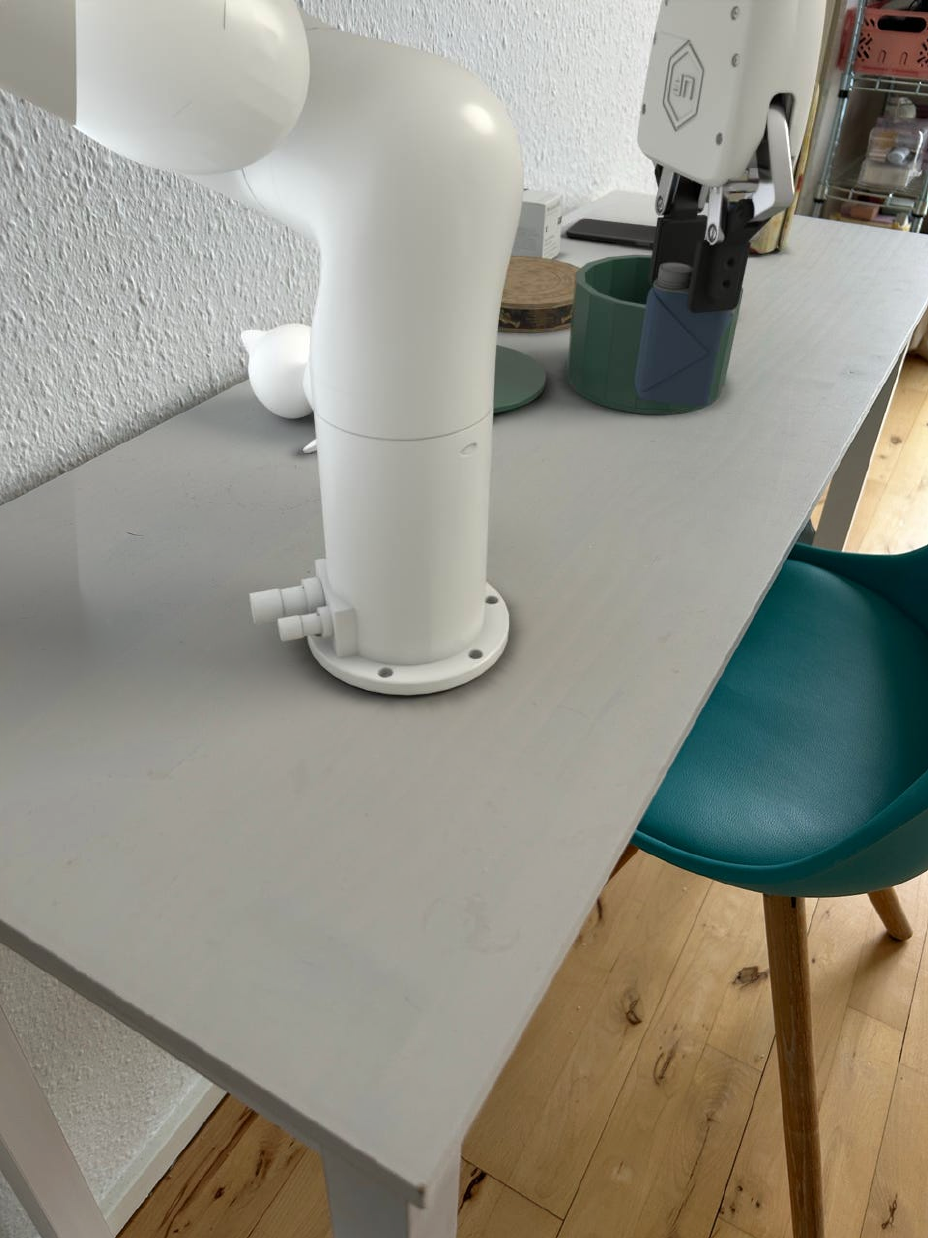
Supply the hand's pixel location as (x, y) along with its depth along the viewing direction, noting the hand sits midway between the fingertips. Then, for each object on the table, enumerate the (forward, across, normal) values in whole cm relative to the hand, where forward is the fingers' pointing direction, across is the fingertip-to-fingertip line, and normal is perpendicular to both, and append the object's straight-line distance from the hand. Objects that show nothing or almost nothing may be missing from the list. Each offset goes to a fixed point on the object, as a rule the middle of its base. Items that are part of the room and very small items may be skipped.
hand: (691, 293), depth 58 cm
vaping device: (+7, 0, 0) cm, 7 cm away
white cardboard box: (+17, -63, +16) cm, 67 cm away
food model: (+17, -58, +47) cm, 77 cm away
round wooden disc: (+18, -47, +9) cm, 51 cm away
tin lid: (+17, -29, -4) cm, 34 cm away
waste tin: (+17, -25, +13) cm, 33 cm away
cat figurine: (+18, -25, -19) cm, 37 cm away
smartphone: (+17, -67, +32) cm, 76 cm away
